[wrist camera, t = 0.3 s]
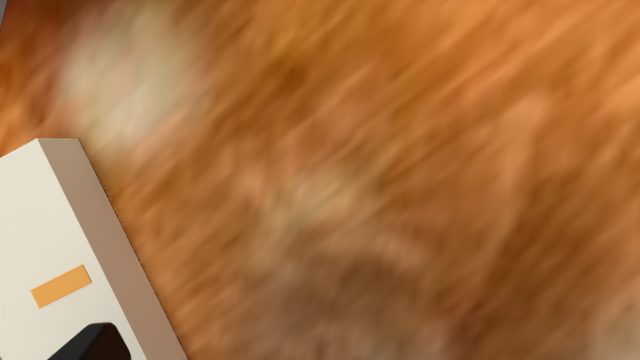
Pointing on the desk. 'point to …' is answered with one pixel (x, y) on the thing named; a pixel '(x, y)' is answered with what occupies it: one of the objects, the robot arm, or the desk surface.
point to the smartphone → (2, 9)
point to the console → (69, 259)
